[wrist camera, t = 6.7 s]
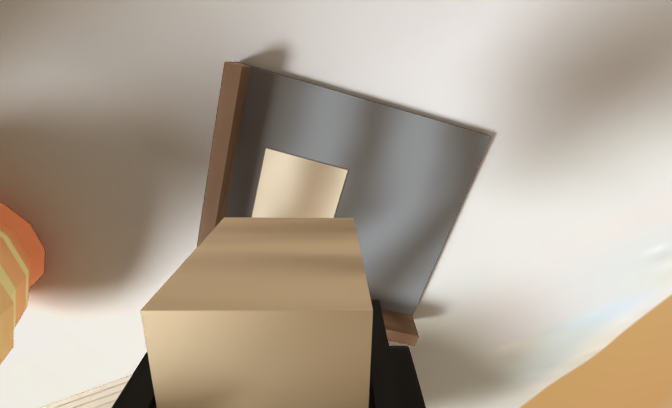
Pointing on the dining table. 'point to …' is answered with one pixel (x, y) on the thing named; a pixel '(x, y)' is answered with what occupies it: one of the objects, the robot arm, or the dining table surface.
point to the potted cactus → (16, 272)
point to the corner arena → (342, 175)
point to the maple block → (264, 319)
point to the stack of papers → (94, 396)
